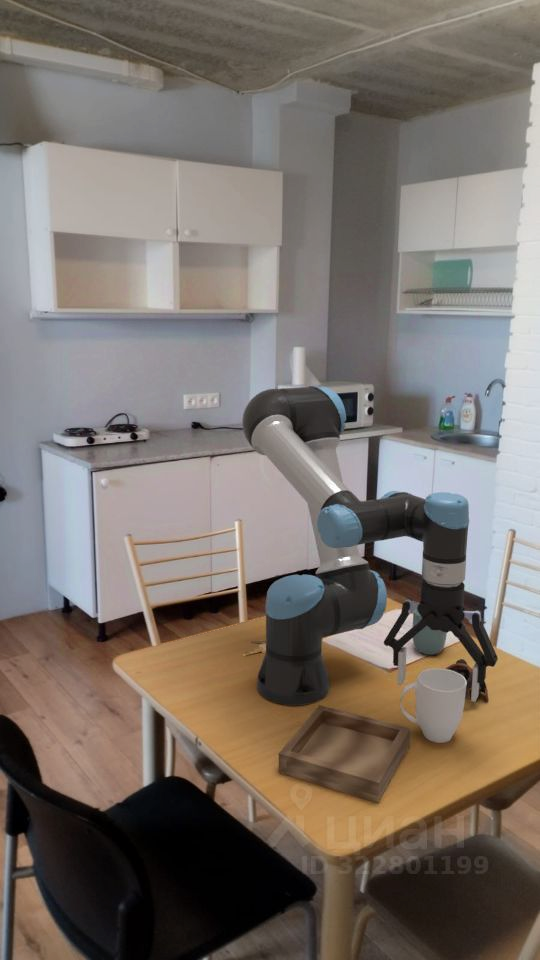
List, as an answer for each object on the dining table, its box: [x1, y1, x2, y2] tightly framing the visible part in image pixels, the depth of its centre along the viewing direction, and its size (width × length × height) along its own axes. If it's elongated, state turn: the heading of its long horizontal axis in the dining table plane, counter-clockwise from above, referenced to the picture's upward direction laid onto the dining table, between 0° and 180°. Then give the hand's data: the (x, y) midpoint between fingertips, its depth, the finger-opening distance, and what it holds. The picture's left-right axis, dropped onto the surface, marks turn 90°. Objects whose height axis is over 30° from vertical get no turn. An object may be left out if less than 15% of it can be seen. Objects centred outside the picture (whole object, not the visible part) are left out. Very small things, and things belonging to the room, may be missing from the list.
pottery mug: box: [445, 658, 489, 703], centre depth 157 cm, size 12×10×8 cm
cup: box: [412, 610, 448, 656], centre depth 176 cm, size 8×8×10 cm
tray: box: [277, 704, 411, 804], centre depth 135 cm, size 18×18×4 cm
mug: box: [399, 667, 467, 744], centre depth 141 cm, size 12×9×12 cm
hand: (437, 690), depth 139 cm, fingers open, 13 cm apart
